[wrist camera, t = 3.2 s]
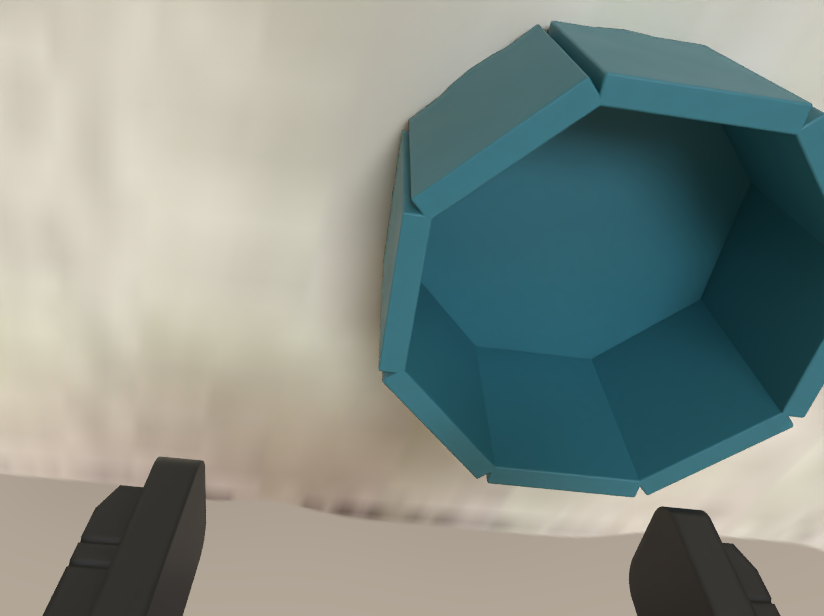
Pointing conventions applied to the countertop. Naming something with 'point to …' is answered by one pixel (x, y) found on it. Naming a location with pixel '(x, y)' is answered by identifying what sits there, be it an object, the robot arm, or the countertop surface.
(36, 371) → the countertop surface
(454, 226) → the teal octagonal bowl
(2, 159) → the countertop surface
